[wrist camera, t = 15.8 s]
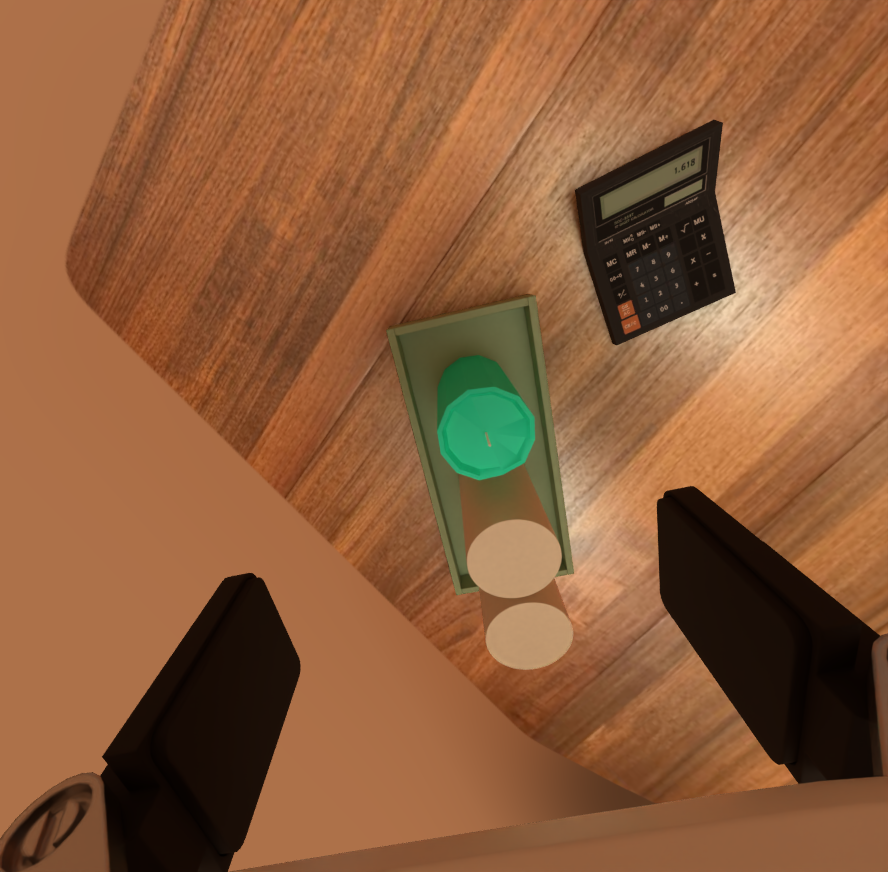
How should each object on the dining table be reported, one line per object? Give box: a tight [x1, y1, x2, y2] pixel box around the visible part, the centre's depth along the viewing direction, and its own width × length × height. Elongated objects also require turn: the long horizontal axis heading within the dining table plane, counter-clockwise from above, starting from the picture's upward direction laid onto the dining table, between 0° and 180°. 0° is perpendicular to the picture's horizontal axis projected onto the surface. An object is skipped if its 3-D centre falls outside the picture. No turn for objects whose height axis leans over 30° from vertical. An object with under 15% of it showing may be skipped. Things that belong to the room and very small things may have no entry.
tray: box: [386, 294, 574, 595], centre depth 36 cm, size 11×25×2 cm, turn 13°
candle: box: [437, 355, 535, 480], centre depth 29 cm, size 6×6×12 cm
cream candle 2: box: [479, 579, 573, 670], centre depth 35 cm, size 6×6×12 cm
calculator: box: [575, 120, 736, 345], centre depth 30 cm, size 9×12×3 cm
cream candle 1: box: [459, 464, 562, 598], centre depth 32 cm, size 6×6×12 cm
